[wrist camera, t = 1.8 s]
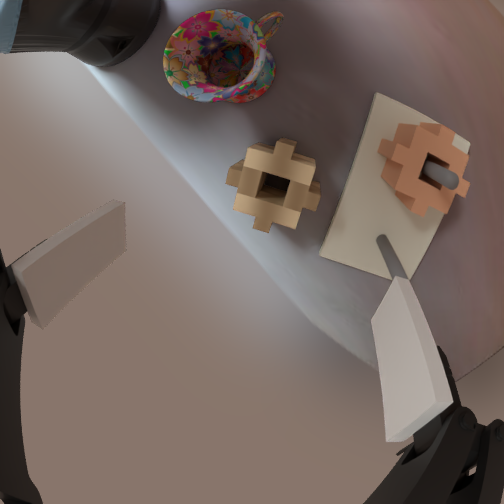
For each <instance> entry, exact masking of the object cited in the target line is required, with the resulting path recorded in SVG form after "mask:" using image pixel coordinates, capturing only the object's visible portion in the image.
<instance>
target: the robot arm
mask: <svg viewBox="0 0 504 504" xmlns="http://www.w3.org/2000/svg"><path fill="white" fill-rule="evenodd" d="M159 13H160V0H0V53H4V54H8V53H17V52H41V51H43V52H44V51H53V52H54V51H55V52H58V51H59V52H67V53H69V54H71V55H72V56H74V57H76V58H78V59H79V60H81V61H83V62H84V63H86V64H89V65H94V66H111V65H115V64H117V63H120V62H122V61H124V60H125V59H127V58H128V57H130V56H131V55H132V54H134V53H135V52H136V51H137V50H138V49H139V48H140V47H141V46H142V45H143V44H144V42H145V41H146V40H147V39H148V37H149V36H150V34H151V33H152V31H153V29H154V27H155V25H156V23H157V20H158V17H159ZM125 251H126V230H125V202H121V201H117V200H112V201H110V202H108V203H106V204H105V205H103V206H101V207H99V208H97V209H96V210H94V211H92V212H90V213H89V214H87V215H85V216H84V217H82V218H80V219H79V220H77V221H75V222H74V223H72V224H70V225H69V226H67V227H66V228H64V229H62V230H61V231H59V232H58V233H56V234H55V235H53V236H52V237H50V238H49V239H46V240H44V241H43V242H41V243H40V244H38V245H37V246H36V247H34V248H32V249H31V250H30V252H29V251H28V252H27V253H25V254H24V255H22V256H21V257H20V258H18V259H17V260H16V261H14V262H13V263H12V264H10V265H9V266H8V267H5V263H4V260H3V257H2V253H1V249H0V499H1V500H2V501H3V502H4V504H43V502H42V499H41V496H40V494H39V491H38V490H37V488H36V486H35V485H34V484H33V482H32V481H31V479H30V477H29V475H28V470H27V465H26V459H25V453H24V445H23V436H22V426H21V410H20V371H21V354H22V344H23V335H24V327H25V318H24V314H25V313H26V312H28V314H29V316H30V319H31V321H32V322H33V323H34V324H36V325H37V326H38V327H40V328H41V329H44V328H45V327H46V326H47V325H48V324H49V323H50V322H51V320H52V319H53V318H54V317H55V316H56V315H57V314H58V313H59V312H60V311H61V310H62V309H63V308H64V307H65V306H66V305H67V304H68V303H69V302H70V301H71V300H72V299H73V298H75V297H76V296H77V295H78V294H79V293H80V292H81V291H82V290H83V289H84V288H85V287H86V286H87V285H88V284H89V283H90V282H91V281H93V280H94V279H95V278H96V277H97V276H98V275H99V274H100V273H101V272H102V271H104V270H105V269H106V268H107V267H108V266H109V265H110V264H111V263H113V262H114V261H115V260H116V259H117V258H118V257H119V256H121V255H122V254H123V253H124V252H125ZM371 324H372V330H373V335H374V341H375V347H376V353H377V359H378V366H379V373H380V381H381V389H382V397H383V408H384V419H385V431H386V442H403V441H405V440H406V439H407V438H409V437H410V436H411V435H413V437H414V442H413V443H411V444H410V445H408V446H406V447H405V448H403V449H402V450H400V451H399V452H398V453H397V454H396V455H397V456H398V455H400V454H401V453H403V452H404V453H403V455H402V456H401V458H400V459H399V461H398V462H397V463H396V465H395V466H394V467H393V469H392V470H391V471H390V473H389V474H388V475H387V476H386V478H385V479H384V480H383V481H382V483H381V484H380V485H379V486H378V487H377V489H376V490H375V491H374V492H373V493H372V494H371V496H370V497H369V498H368V499H367V500H366V501H365V502H364V503H363V504H500V503H501V498H502V493H503V488H504V422H503V421H502V420H500V419H496V420H494V421H493V422H492V423H490V424H489V425H488V426H484V425H481V424H478V423H477V419H476V417H475V415H474V413H473V412H472V411H471V410H470V409H469V408H467V407H462V406H461V402H460V399H459V395H458V391H457V388H456V385H455V381H454V378H453V377H452V372H451V369H450V368H449V367H450V366H449V363H448V360H447V357H446V355H445V354H444V352H443V351H442V349H441V348H440V346H436V344H435V341H434V339H433V336H432V333H431V331H430V328H429V326H428V323H427V320H426V318H425V316H424V313H423V311H422V308H421V306H420V304H419V301H418V299H417V297H416V295H415V292H414V290H413V288H412V286H411V284H410V282H409V280H408V279H404V278H401V277H398V276H395V277H394V279H393V281H392V283H391V285H390V287H389V289H388V291H387V293H386V294H385V296H384V298H383V300H382V302H381V303H380V305H379V307H378V309H377V310H376V312H375V314H374V316H373V317H372V319H371ZM475 466H477V467H476V472H475V473H474V474H472V475H470V476H469V470H470V469H472V468H474V467H475Z"/></svg>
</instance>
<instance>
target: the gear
mask: <svg viewBox="0 0 504 504" xmlns="http://www.w3.org/2000/svg"><path fill="white" fill-rule="evenodd" d="M296 144H297V142H296V141H293V140H290V139H286V138H283V137H282V138H281V139H279V140H278V141H277V142H276V145H275V147H274V146H270V145H266V144H263V143H256V144H254V145H252V146H250V147H248V149H247V153H246V157H245V160H243V159H242V160H241V161H239V162H238V163H236V164H234V165H233V166H231V167H230V168H229V171H228V175H227V179H226V184H228V185H231V186H235V187H238V190H237V194H236V198H235V203H234V207H233V210H235V211H239V212H242V213H245V214H249V215H252V216H255V217H256V218H255V222H254V225H253V228H254V229H257V230H260V231H263V232H266V233H269V230H270V228H271V225H272V222H274V223H277V224H280V225H283V226H287V227H290V228H293V229H295V228H296V225H297V222H298V220H299V217H300V214H301V211H302V208H306V209H309V210H312V211H315V212H316V209H317V206H318V203H319V200H320V197H321V191H320V183H319V182H316V181H313V180H312V178H313V175H314V172H315V169H316V165H315V159H313V158H310V157H307V156H303V155H300V154H297V153H294V151H295V148H296ZM267 173H270V174H273V175H277V176H280V177H283V178H286V179H289V180H291V181H290V184H289V187H288V191H284V190H280V189H277V188H274V187H271V186H267V185H264V184H265V180H266V177H267Z"/></svg>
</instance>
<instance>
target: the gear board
mask: <svg viewBox="0 0 504 504" xmlns="http://www.w3.org/2000/svg"><path fill="white" fill-rule="evenodd" d="M470 144H471V143H469V142H468V141H467V140H465V139H464V138H462V137H461V136H459V135H457V134H456V133H455V132H454V131H452V130H451V129H449V128H447V127H446V126H444V125H442V124H440V123H438V122H436V121H434V120H433V119H431V118H429V117H427V116H425V115H424V114H422V113H420V112H418V111H416V110H414V109H412V108H410V107H408V106H406V105H404V104H402V103H400V102H398V101H396V100H394V99H391V98H389V97H387V96H385V95H383V94H380V93H378V92H376V93H375V94H374V98H373V101H372V105H371V108H370V111H369V115H368V118H367V121H366V124H365V128H364V131H363V134H362V137H361V140H360V143H359V146H358V149H357V152H356V155H355V158H354V161H353V164H352V167H351V170H350V173H349V175H348V178H347V181H346V184H345V187H344V189H343V192H342V195H341V197H340V200H339V203H338V205H337V208H336V211H335V213H334V216H333V218H332V221H331V224H330V226H329V229H328V231H327V234H326V236H325V239H324V241H323V244H322V246H321V248H320V251H319V256H322V257H325V258H328V259H331V260H334V261H337V262H340V263H343V264H346V265H349V266H352V267H354V268H357V269H360V270H363V271H366V272H369V273H372V274H375V275H378V276H381V277H384V278H387V279H390V280H393V279H394V277H395V276H398V277H401V278H404V279H408V280H409V281H410V279H411V277H412V276H413V274H414V272H415V270H416V269H417V267H418V265H419V263H420V261H421V260H422V258H423V256H424V254H425V252H426V250H427V248H428V246H429V244H430V243H431V241H432V239H433V237H434V235H435V232H436V230H437V228H438V226H439V224H440V222H441V220H442V218H443V215H444V213H445V214H447V213H448V210H449V208H450V206H451V204H452V201H453V199H454V196H455V194H456V193H457V194H459V195H460V196H462V197H464V198H465V196H466V193H467V191H468V188H469V186H470V183H469V182H468V181H466V180H464V179H463V178H462V176H463V173H464V170H465V168H466V165H467V162H468V159H469V155H467V153H468V150H469V147H470Z"/></svg>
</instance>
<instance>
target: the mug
mask: <svg viewBox="0 0 504 504" xmlns="http://www.w3.org/2000/svg"><path fill="white" fill-rule="evenodd" d="M276 17H277V18H276ZM273 18H276V20H275V22H274V23H273V25H272V26H271V28H270V29H269V30H268V31H267V32H266V34H265V35H263V33H262V31H261V29H260V28H261V27H262V26H263V25H264V24H266V23H267V22H268V21H270V20H271V19H273ZM282 21H283V15H282V14H281V13H280V12H278V11H273V12H270V13H268V14H266V15H264V16H263V17H261V18H260V19H259V20H258V21H257V22H256V23H255V22H254V21H253V20H252V19H251V18H249V17H248V16H246V15H244V14H242V13H239V12H237V11H233V10H227V9H215V10H209V11H205V12H201V13H199V14H196V15H194V16H192V17H191V18H189V19H187V20H186V21H185V22H183V23H182V24H181V25H180V26H179V27H178V28H177V29H176V30H175V31H174V33H173V34H172V35H171V37H170V39H169V40H168V42H167V45H166V47H165V51H164V56H163V67H164V72H165V75H166V78H167V80H168V82H169V83H170V85H171V86H172V87H173V89H174V90H175V91H177V92H178V93H179V94H180V95H182V96H184V97H186V98H188V99H190V100H194V101H198V102H218V101H222V100H225V101H228V102H233V103H243V102H248V101H251V100H254V99H256V98H258V97H259V96H261V95H262V94H264V93H265V92H266V91H267V90H268V88H269V87H270V86H271V84H272V82H273V80H274V77H275V70H276V67H275V61H274V58H273V56H272V54H271V53H270V51H269V50H268V49H267V48H266V42H267V41H268V40H269V39H270V38H271V37H272V36H273V35H274V33H275V32H276V31H277V30H278V28H279V27H280V25H281V23H282Z"/></svg>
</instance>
